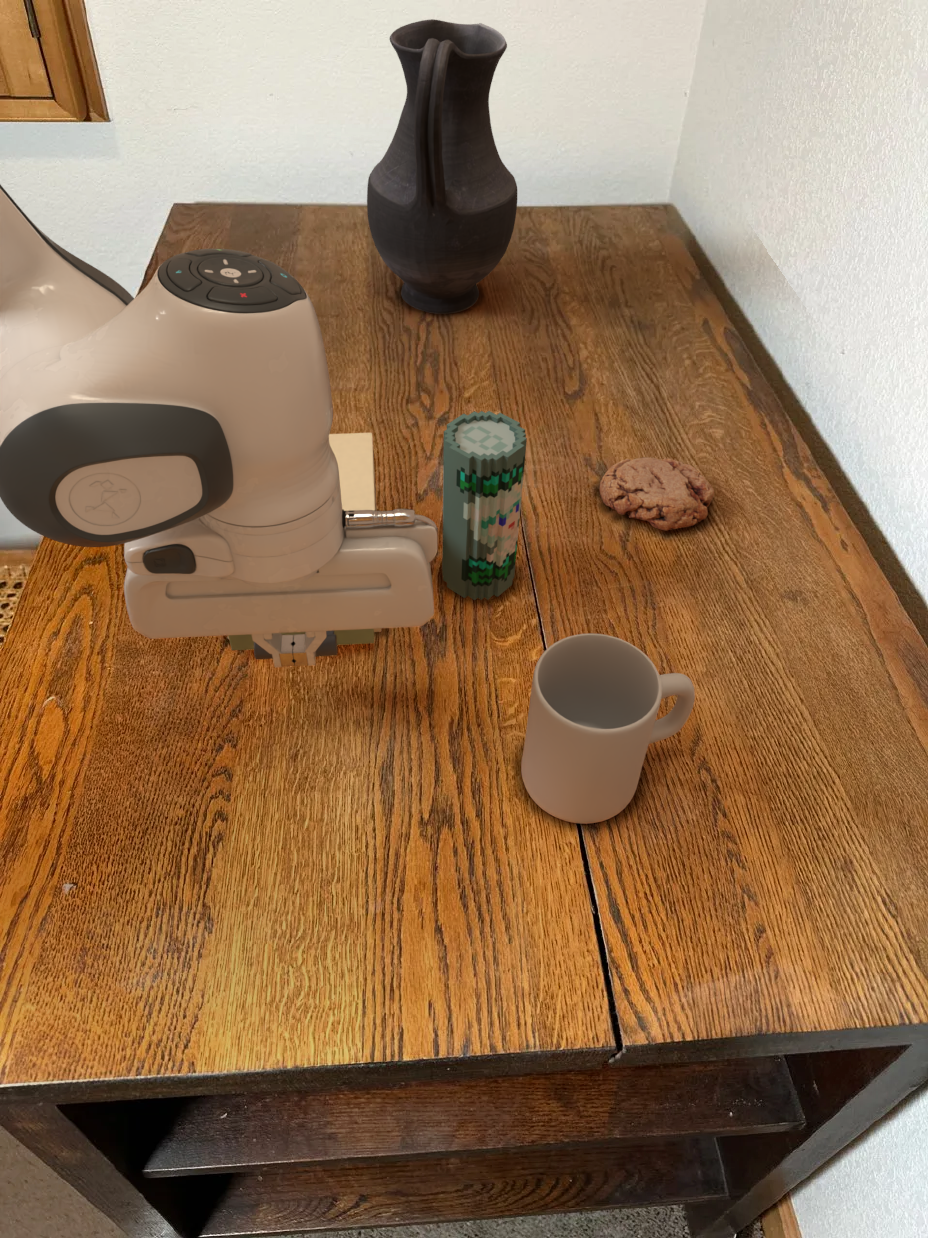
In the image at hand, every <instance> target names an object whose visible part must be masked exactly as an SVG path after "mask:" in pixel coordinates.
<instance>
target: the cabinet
mask: <svg viewBox="0 0 928 1238" xmlns="http://www.w3.org/2000/svg"><path fill="white" fill-rule="evenodd" d="M329 443H330V446H331V448H332V450H333V452H334V454H335V457H336V460H337V463H338V468H339V478H340V489H341V500H342V509H344V511H348V510H373V511H374V510H377V511H378V507H377V506H378V505H377V492H376V491H377V489H376V473H375V472H376V471H375V456H374V438H373V432H353V433H351V432H350V433H348V432H347V433H330V434H329ZM382 629H383V628H378V629H374V633H381V632H382ZM226 636H227V639H228V640H229V636H228V635H226Z"/></svg>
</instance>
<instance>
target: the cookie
mask: <svg viewBox="0 0 928 1238" xmlns="http://www.w3.org/2000/svg"><path fill="white" fill-rule="evenodd" d="M599 494H600V497H601V500H602V503H603V504H604V505H605V506H606V507H609V508H611V509H612V510H615V511H616V513H618V514H619V515H622V516H623V515H628V518H629V519H637V520H641V521H646V522H648V523H649V524H650V525H651V526H652V527H653V528H654V529H659V530H661V531H669V530H676V529H681V528H688V527H693V526H694V525H697V524H698V523H701V521H703V520H704V521H705V520H706V518H708V517H707V516H708V515H709V512H708V508H709V506H710V505H711V503H712V501H713V498H714V497H715V489H714V488H713V486H712V484H711V483H710V482H709V481H708V480H707V479H706V478H705V477H704V476H703V475H701V472H700V471H699V470H698V469H696V468H695V467H694V466H692V465H691V464H689V463H687V464H686V463H684V462H682V461H680V460H679V461H678V460H677V459H673V458H669V457H668V458H663V459H660V458H659V459H658V458H656V457H649V456H644V457H638V458H633V459H630V458H625V459H622V460H620V461H617V462H616V463H614V464H612V465H611V466H610V467H609V468H608V469H607V471H606V472H605V473H604V475H603V476H602V478H601V480H600V482H599Z"/></svg>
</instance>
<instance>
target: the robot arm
mask: <svg viewBox="0 0 928 1238" xmlns="http://www.w3.org/2000/svg"><path fill="white" fill-rule="evenodd" d="M327 359H328V358H327V352H326V347H325V343H324V338H323V334H322V330H321V325H320V322H319V318H318V315H317V312H316V308H315V307H314V303H313V302H312V300H311V297H310V296H309V294H308V293H307V291H306V289H305V288H304V287H303V285H301V284H300V282H299V281H298V280H297V278H295V277H294V276H293V275H291V274H290V273H289V272H288V271H287V270H285V269H284V268H283V267H281V266H280V265H278V264H277V263H275V262H274V261H271V260H268V259H266V258H263V257H260V256H257V255H254V254H252V253H251V252H246V251H242V250H236V249H227V248H200V249H194V250H189V251H186V252H185V251H184V252H181V253H178V254H175V255H173V256H171V257H169V258H167V259H166V260H164V261H163V262H162V263H160V265H159V266H158V267H157V269H156V271H155V273H154V274H153V276H152V278H151V279H150V281H149V282H148V284H147V285H146V286H145V287H144V289H142V290H141V292H139V294H137V296H136V297H134V296H133V295H131V293H130V292H129V291H128V290H127V289H125V287H123V286H122V285H121V284H120V283H119V282H117V281H116V280H115V279H114V278H112V277H111V276H109V275H108V274H106V273H104V271H101V270H100V269H98V268H96V267H95V266H93V265H91V264H90V263H88V262H86V261H84V260H83V259H81V258H79V257H77V256H76V255H74V254H73V253H71V252H70V251H68V250H66V249H65V248H63V247H62V246H61V245H60V244H58V243H56V242H55V241H53V240H52V239H51V238H50V237H49V236H48V235H47V234H45V233H44V232H43V231H42V230H41V229H40V228H39V227H38V226H37V225H36V224H35V223H34V222H33V221H32V220H31V219H30V217H28V216H27V214H26V213H25V211H23V209H22V208H21V207H20V206H19V204H17V202H16V201H15V200H14V199H13V198H12V196H10V193H8V192H7V191H6V189H5V188H4V186H3V185H2V184H0V500H1V501H2V503H3V505H4V506H5V508H6V509H7V510H8V511H9V513H10V514H11V515H12V516H13V517H14V518H15V519H16V520H17V521H19V523H21V524H22V525H24V526H25V527H27V528H28V529H30V530H31V531H33V532H34V533H37V534H38V535H40V536H43V537H45V538H47V539H49V540H52V541H55V542H57V543H60V544H61V543H62V544H64V545H69V546H75V547H83V548H105V547H106V548H107V547H113V546H120V545H123V558H124V562H125V564H126V567H127V568H126V572H125V577H124V582H123V593H124V601H125V606H126V611H127V614H128V619H129V622H130V625H131V627H132V629H133V630H134V632H137V633H138V634H140V635H142V636H143V637H145V638H147V639H149V640H150V639H151V640H159V639H179V638H200V637H221V636H222V637H223V636H227V635H246V634H251V635H252V640H253V641H254V642H255V643H257V644H258V645H259V646H260V647H262V648H263V649H264V650H266V651H267V652H268V653H269V654H272V657H273V659H272V662H273V667H274V668H276V669H277V668H287V667H313V666H316V664H317V657H316V650H317V649H318V647H319V646H320V645H321V644H322V642H323V641H324V640H325V638H326V637H327V631H334V630H356V629H378V628H382V629H396V628H397V629H398V628H399V629H400V628H417V627H418V628H419V627H423V626H424V625H426V624H427V623H428V622H429V621H430V620H431V619H432V618H433V617H434V616H435V598H434V584H433V576H432V569H431V562H432V561H433V560H434V558H436V555H437V554H438V552H439V548H440V547H439V543H440V541H439V534H440V532H439V529H438V526H437V525H436V523H435V521H433V520H432V519H430V518H429V517H427V516H425V515H423V514H417V513H416V512H415V510H414V509H412V508H395V509H394V508H393V510H378V509H377V510H374V511H373V510H348V511H344V509H342V500H341V489H340V478H339V468H338V463H337V460H336V457H335V454H334V452H333V450H332V448H331V446H330V443H329V434H331V429H332V425H333V421H334V420H333V419H334V405H333V397H332V388H331V387H332V386H331V379H330V373H329V366H328V360H327ZM290 632H306V633H305V634H297V635H282V634H281V633H290Z"/></svg>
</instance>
